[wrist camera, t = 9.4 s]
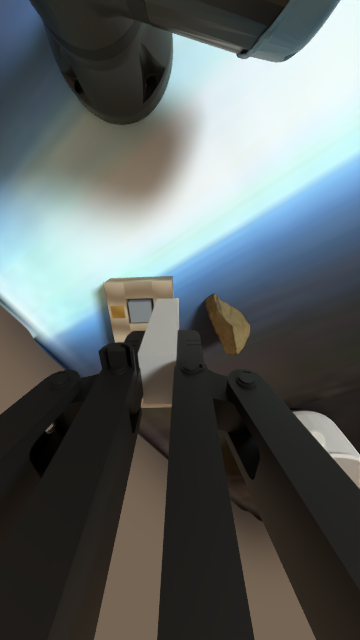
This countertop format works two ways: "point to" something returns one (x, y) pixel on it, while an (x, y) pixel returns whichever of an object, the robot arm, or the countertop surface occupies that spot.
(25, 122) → the countertop surface
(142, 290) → the button panel
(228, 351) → the rock
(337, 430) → the pot
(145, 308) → the button
